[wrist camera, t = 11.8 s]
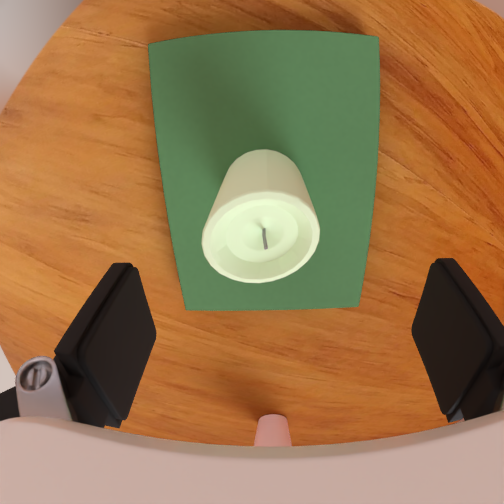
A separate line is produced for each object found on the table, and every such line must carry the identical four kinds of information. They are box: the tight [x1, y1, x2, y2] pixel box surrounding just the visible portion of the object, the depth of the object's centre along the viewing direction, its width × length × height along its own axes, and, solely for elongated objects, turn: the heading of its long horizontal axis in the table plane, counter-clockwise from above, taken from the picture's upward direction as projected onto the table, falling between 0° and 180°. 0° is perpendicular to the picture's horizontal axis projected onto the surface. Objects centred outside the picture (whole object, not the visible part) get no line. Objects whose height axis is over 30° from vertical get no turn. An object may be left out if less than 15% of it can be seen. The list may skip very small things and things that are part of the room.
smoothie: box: [254, 414, 292, 447], centre depth 31 cm, size 6×6×14 cm
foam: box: [148, 30, 380, 311], centre depth 21 cm, size 20×14×2 cm
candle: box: [201, 149, 320, 283], centre depth 16 cm, size 5×5×8 cm
